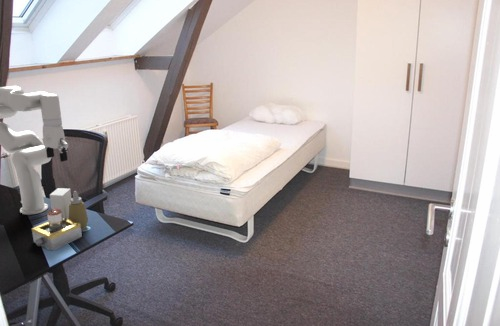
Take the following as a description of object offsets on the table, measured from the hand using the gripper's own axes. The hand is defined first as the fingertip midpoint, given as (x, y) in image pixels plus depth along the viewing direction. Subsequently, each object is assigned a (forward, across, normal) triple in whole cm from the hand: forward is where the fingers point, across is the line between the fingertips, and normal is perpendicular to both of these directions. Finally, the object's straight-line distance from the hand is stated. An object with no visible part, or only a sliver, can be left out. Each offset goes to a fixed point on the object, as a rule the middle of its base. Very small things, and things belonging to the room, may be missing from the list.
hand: (57, 159), depth 180 cm
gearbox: (+30, +15, -14) cm, 37 cm away
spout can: (+25, +15, -13) cm, 32 cm away
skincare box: (+31, +2, -2) cm, 31 cm away
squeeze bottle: (+31, +13, -2) cm, 33 cm away
